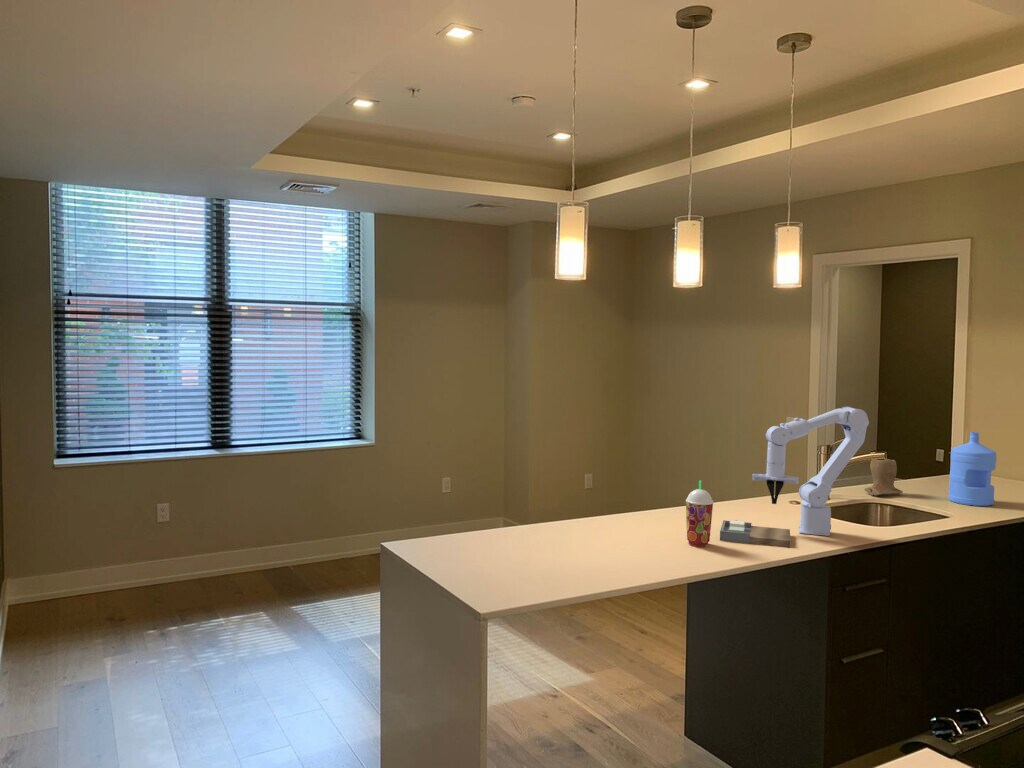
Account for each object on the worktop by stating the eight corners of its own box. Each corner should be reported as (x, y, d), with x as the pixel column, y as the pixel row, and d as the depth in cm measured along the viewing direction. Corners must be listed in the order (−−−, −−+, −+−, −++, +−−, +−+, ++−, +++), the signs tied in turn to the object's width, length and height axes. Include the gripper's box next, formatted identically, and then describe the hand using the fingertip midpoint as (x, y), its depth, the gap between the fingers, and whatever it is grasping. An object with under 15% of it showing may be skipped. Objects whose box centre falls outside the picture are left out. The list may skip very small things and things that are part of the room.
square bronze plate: (789, 535, 252) (789, 529, 252) (790, 547, 238) (790, 540, 238) (751, 531, 256) (751, 525, 256) (749, 543, 242) (749, 536, 242)
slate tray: (751, 531, 256) (751, 522, 256) (749, 543, 242) (749, 533, 242) (723, 529, 259) (723, 520, 259) (719, 540, 245) (720, 530, 244)
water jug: (939, 499, 311) (943, 430, 310) (965, 497, 318) (968, 429, 316) (976, 508, 297) (980, 435, 295) (1002, 504, 304) (1007, 434, 302)
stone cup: (883, 490, 329) (885, 455, 328) (907, 496, 318) (908, 460, 317) (856, 492, 324) (857, 457, 323) (878, 498, 313) (880, 461, 312)
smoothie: (707, 540, 244) (709, 478, 242) (715, 548, 236) (717, 483, 234) (681, 540, 244) (683, 477, 242) (688, 548, 235) (690, 483, 234)
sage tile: (744, 533, 248) (744, 527, 248) (743, 536, 244) (743, 531, 244) (729, 531, 250) (729, 526, 249) (728, 535, 245) (729, 529, 245)
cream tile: (744, 529, 253) (744, 521, 253) (743, 532, 249) (744, 524, 249) (730, 527, 255) (730, 520, 255) (729, 530, 251) (729, 523, 250)
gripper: (752, 462, 254) (750, 503, 255) (799, 466, 249) (797, 507, 250) (753, 459, 261) (751, 499, 262) (799, 463, 256) (797, 503, 257)
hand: (774, 503), depth 256 cm, fingers closed
